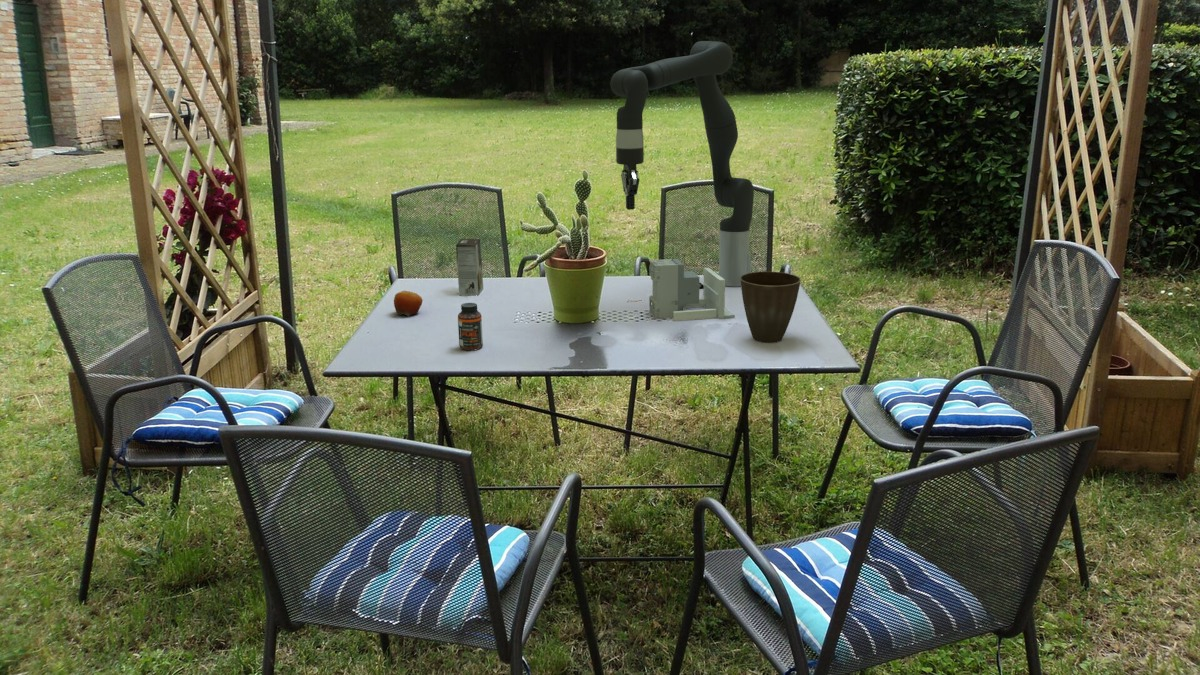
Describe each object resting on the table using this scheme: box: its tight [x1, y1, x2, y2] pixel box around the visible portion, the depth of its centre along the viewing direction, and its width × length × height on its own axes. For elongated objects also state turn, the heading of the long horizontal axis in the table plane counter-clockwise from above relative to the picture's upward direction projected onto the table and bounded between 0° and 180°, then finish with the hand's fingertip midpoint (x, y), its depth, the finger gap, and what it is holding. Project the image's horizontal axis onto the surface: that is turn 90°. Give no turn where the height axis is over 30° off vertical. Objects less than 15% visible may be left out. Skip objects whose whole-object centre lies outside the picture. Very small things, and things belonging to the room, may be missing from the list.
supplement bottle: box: [457, 302, 484, 351], centre depth 233 cm, size 6×6×11 cm
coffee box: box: [455, 238, 484, 297], centre depth 286 cm, size 9×6×16 cm
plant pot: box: [740, 270, 801, 344], centre depth 234 cm, size 15×15×16 cm
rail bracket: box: [672, 267, 735, 322], centre depth 260 cm, size 17×15×11 cm
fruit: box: [393, 290, 423, 318], centre depth 264 cm, size 8×8×8 cm
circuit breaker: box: [648, 258, 704, 320], centre depth 259 cm, size 8×14×15 cm, turn 99°
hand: (630, 209), depth 257 cm, fingers closed
